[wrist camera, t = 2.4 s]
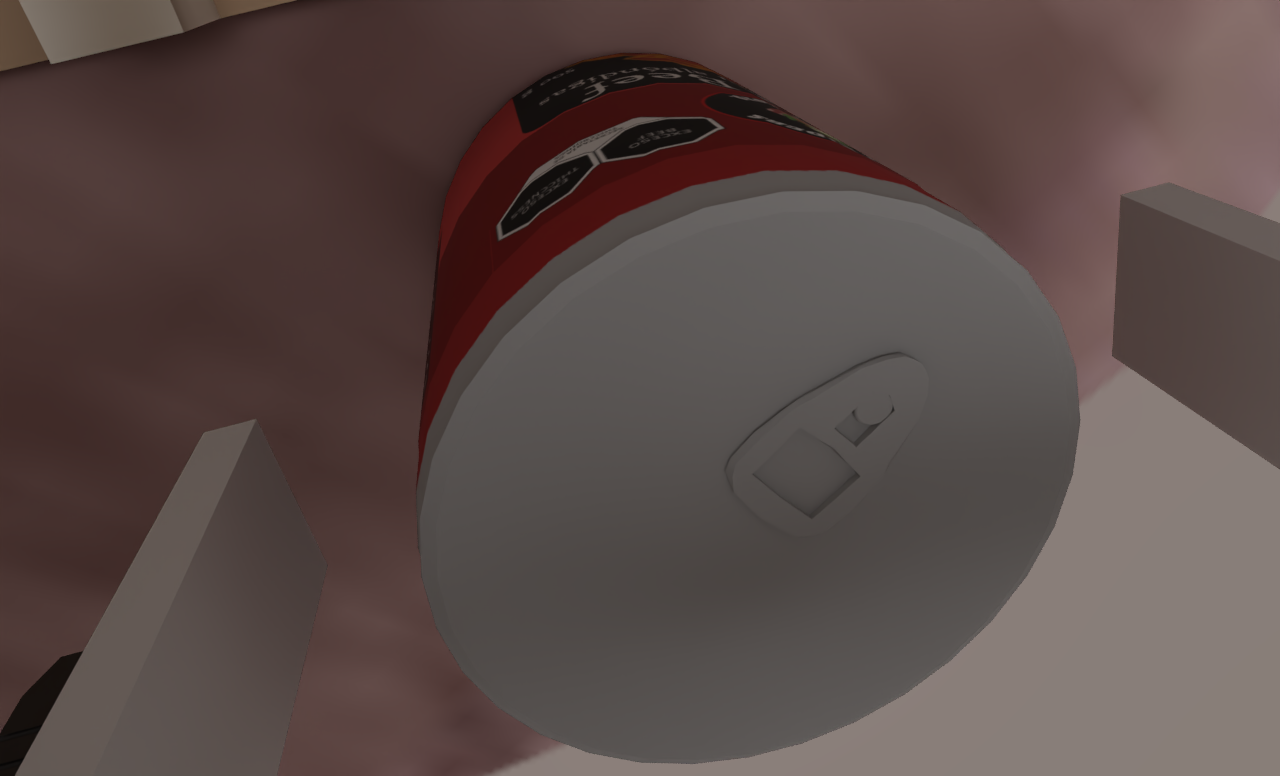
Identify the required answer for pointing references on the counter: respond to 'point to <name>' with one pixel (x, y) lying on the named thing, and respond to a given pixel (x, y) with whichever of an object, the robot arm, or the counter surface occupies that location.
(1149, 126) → the counter surface
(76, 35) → the notched rail
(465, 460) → the canned food
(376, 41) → the counter surface
